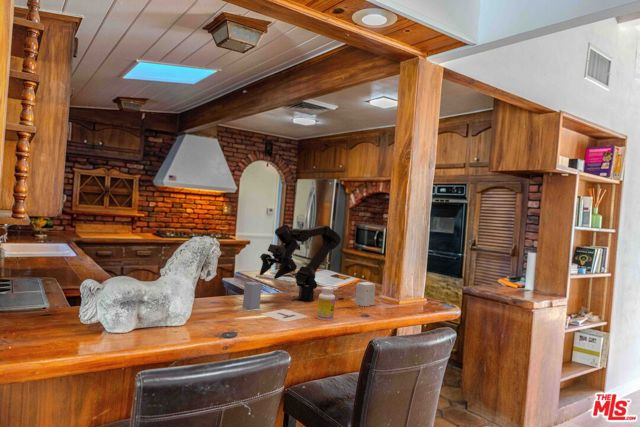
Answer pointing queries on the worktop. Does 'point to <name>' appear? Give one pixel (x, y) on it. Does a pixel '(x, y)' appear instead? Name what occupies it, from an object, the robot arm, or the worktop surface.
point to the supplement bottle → (326, 304)
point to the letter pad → (284, 315)
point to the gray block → (252, 295)
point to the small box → (365, 294)
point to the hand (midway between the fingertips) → (267, 276)
